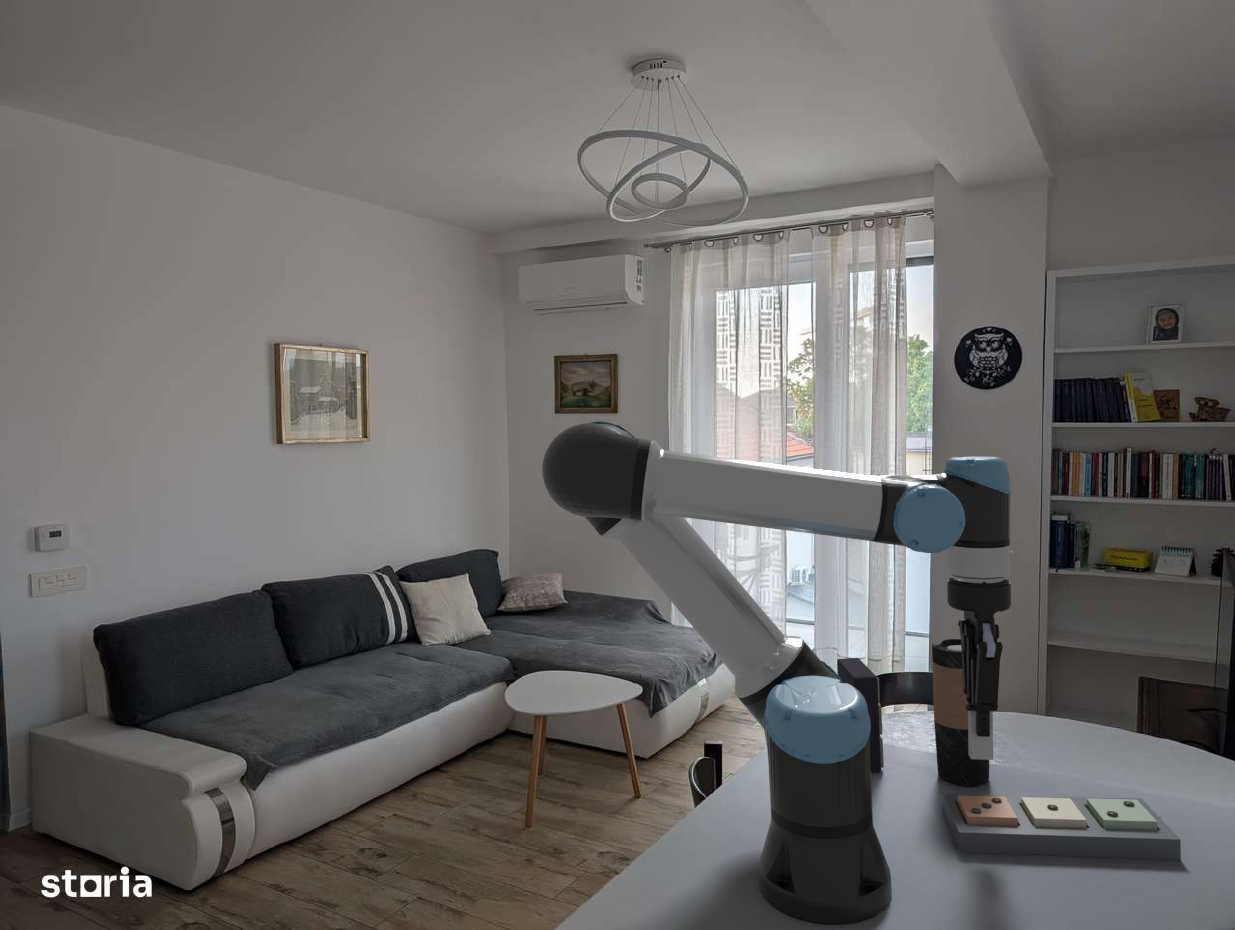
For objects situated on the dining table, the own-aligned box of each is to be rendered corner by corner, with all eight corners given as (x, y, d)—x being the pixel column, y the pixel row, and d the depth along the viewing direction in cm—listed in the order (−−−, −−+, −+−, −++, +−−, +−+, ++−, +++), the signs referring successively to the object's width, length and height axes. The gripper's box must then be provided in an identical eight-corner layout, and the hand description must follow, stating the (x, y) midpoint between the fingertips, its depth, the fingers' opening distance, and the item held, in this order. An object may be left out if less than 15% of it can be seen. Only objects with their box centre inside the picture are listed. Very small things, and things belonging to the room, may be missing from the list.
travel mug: (996, 788, 123) (992, 652, 122) (940, 787, 124) (935, 652, 123) (984, 767, 130) (980, 638, 129) (932, 765, 132) (927, 638, 131)
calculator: (886, 772, 130) (882, 676, 130) (858, 774, 130) (854, 678, 130) (866, 745, 141) (862, 656, 141) (840, 746, 141) (836, 658, 141)
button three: (968, 839, 108) (967, 814, 108) (958, 817, 114) (957, 794, 114) (1018, 841, 107) (1017, 816, 107) (1005, 818, 113) (1005, 795, 113)
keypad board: (959, 851, 106) (959, 832, 106) (942, 811, 117) (942, 793, 117) (1180, 859, 102) (1180, 839, 101) (1142, 816, 112) (1141, 798, 112)
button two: (1104, 843, 105) (1103, 818, 105) (1087, 820, 111) (1086, 796, 111) (1157, 845, 104) (1157, 819, 104) (1137, 822, 110) (1136, 798, 110)
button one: (1035, 841, 107) (1034, 816, 107) (1021, 819, 113) (1021, 795, 113) (1087, 843, 106) (1086, 818, 106) (1070, 820, 112) (1070, 796, 112)
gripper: (1024, 587, 102) (1026, 779, 103) (996, 567, 115) (998, 739, 116) (958, 587, 103) (960, 776, 105) (938, 568, 116) (940, 737, 117)
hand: (980, 757), depth 110 cm, fingers closed
